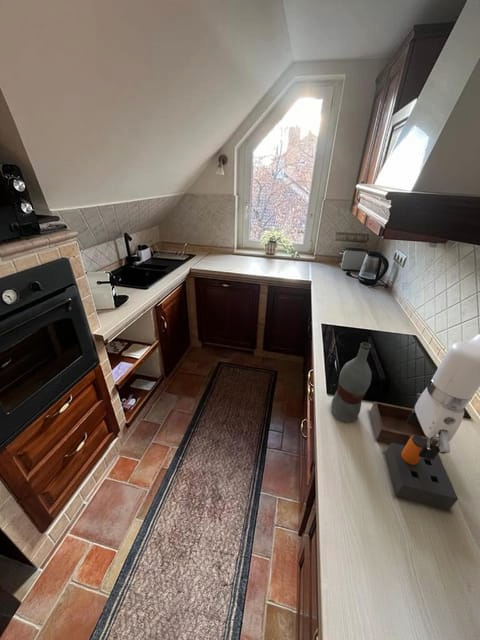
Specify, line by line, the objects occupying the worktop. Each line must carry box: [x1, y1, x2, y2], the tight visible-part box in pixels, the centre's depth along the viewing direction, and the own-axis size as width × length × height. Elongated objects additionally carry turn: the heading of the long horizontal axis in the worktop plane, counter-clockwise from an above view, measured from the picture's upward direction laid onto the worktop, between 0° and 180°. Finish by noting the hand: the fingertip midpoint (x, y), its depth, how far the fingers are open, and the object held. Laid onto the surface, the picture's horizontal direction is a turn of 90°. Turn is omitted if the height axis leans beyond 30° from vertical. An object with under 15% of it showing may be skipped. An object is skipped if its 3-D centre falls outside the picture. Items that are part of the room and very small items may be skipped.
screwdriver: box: [401, 435, 427, 465], centre depth 70 cm, size 4×4×13 cm
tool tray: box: [369, 401, 438, 446], centre depth 83 cm, size 16×12×6 cm
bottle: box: [330, 341, 373, 423], centre depth 83 cm, size 9×9×30 cm
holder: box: [384, 443, 459, 511], centre depth 69 cm, size 12×12×6 cm
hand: (418, 439), depth 66 cm, fingers open, 9 cm apart
